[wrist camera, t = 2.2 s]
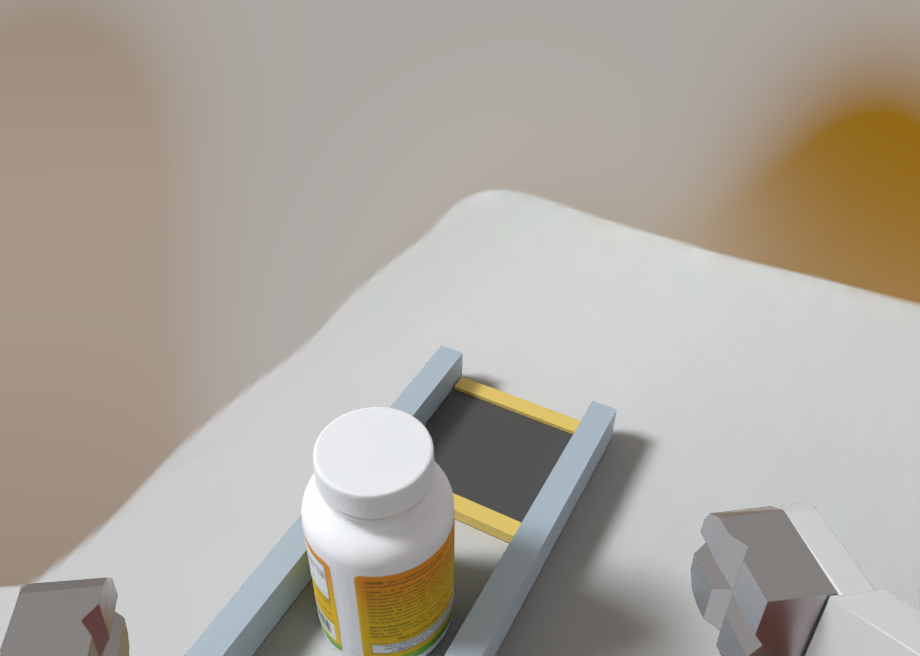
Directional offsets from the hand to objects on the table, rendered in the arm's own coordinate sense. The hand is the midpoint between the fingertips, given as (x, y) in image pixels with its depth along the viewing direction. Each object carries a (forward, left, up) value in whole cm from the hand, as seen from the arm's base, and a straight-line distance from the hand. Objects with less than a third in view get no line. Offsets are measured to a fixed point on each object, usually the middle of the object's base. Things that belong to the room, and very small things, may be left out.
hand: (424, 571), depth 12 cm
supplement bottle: (-10, -8, -21) cm, 24 cm away
